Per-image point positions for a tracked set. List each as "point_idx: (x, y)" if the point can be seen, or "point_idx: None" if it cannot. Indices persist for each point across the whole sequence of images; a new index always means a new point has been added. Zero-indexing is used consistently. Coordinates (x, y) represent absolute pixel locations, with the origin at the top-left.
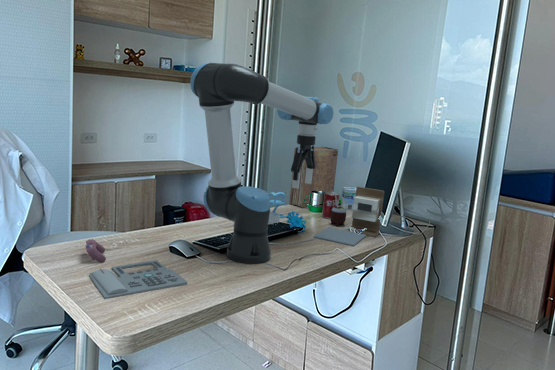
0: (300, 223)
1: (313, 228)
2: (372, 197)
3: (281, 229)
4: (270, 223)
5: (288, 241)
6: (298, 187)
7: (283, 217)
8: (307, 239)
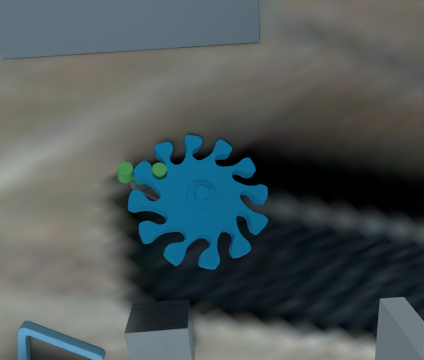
0: (186, 174)
1: (86, 126)
2: None
3: None
4: (191, 319)
5: (414, 113)
6: (399, 305)
7: (43, 329)
8: (313, 53)
